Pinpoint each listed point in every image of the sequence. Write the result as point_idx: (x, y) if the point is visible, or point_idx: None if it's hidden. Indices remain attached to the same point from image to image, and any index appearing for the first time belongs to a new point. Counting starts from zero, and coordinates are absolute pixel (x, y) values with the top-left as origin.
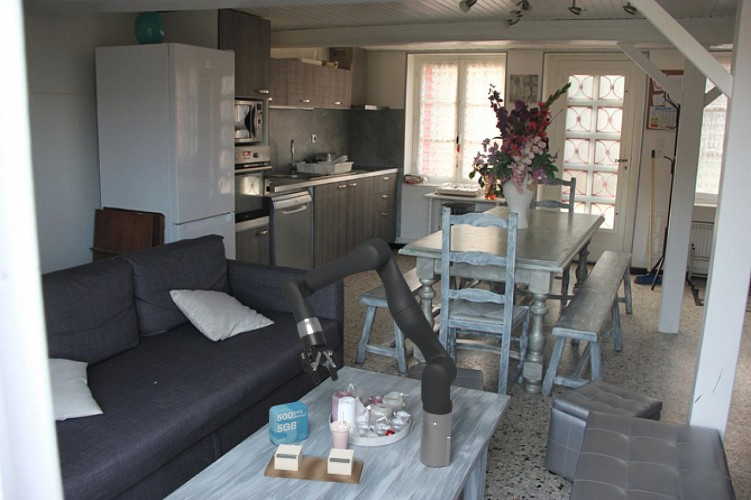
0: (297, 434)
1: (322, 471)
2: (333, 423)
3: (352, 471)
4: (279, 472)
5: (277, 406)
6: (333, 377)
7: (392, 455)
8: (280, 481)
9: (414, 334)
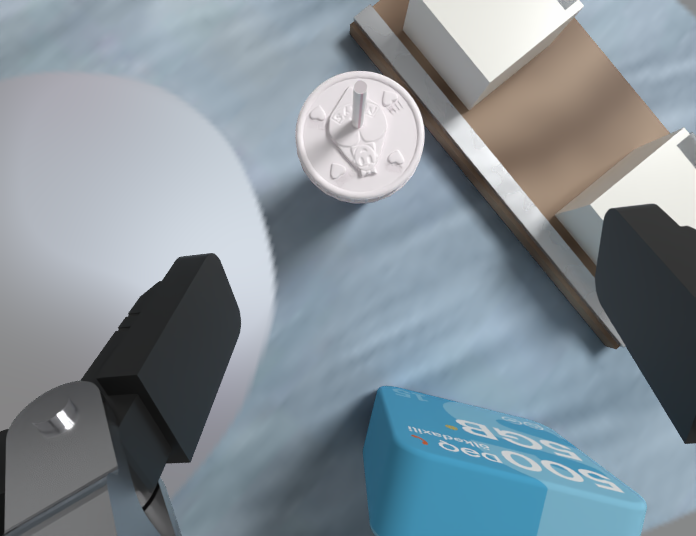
0: (437, 405)
1: (556, 71)
2: (382, 182)
3: None
4: None
5: None
6: (218, 319)
7: (191, 2)
8: None
9: None
